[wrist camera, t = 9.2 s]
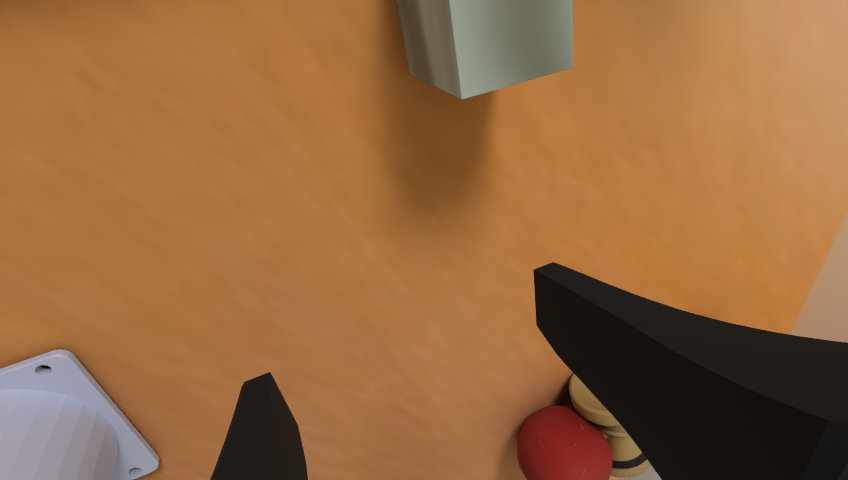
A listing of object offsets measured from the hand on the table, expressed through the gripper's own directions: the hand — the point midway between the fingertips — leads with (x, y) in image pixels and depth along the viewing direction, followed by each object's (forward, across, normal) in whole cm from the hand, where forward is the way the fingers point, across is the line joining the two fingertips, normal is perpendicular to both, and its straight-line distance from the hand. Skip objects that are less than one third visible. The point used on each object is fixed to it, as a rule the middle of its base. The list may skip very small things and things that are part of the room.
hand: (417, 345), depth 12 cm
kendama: (+10, -15, +20) cm, 27 cm away
